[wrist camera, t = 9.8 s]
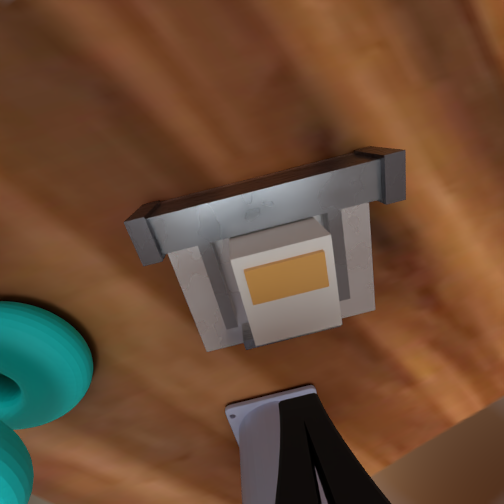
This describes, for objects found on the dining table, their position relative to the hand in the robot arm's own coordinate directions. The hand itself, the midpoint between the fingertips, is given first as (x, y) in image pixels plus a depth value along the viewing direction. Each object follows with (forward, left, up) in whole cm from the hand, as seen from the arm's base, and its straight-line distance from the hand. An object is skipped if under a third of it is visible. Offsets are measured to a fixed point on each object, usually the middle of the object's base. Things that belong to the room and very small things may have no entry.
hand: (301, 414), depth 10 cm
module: (+2, -1, -10) cm, 10 cm away
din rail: (+1, -1, -10) cm, 11 cm away
